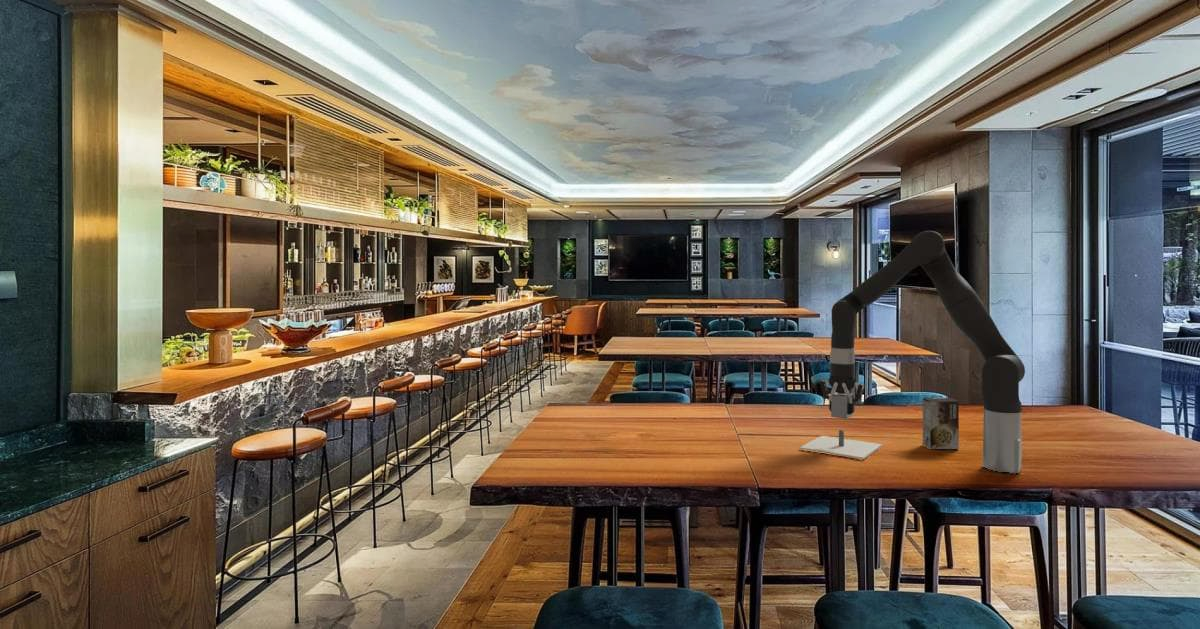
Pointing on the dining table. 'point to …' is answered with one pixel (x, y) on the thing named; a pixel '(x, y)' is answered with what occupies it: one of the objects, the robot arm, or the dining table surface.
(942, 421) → the coffee box
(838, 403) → the block
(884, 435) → the dining table surface
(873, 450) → the pin plate
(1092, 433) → the dining table surface
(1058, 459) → the dining table surface
